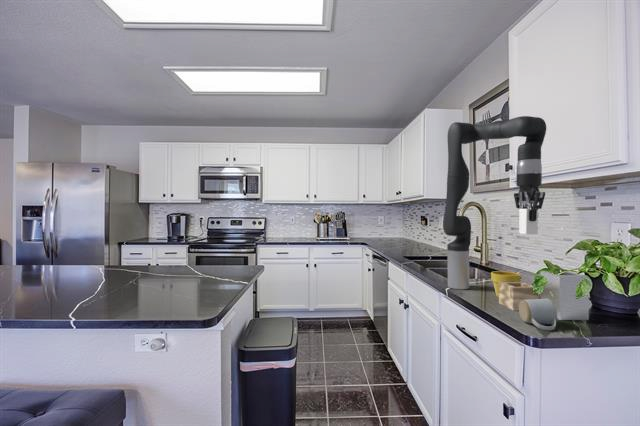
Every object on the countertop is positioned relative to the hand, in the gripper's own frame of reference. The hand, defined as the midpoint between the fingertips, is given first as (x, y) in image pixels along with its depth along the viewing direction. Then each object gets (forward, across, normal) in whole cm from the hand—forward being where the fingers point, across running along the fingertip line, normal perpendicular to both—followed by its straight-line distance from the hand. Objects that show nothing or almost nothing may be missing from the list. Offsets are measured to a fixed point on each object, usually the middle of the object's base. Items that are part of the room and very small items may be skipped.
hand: (528, 220), depth 112 cm
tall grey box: (+32, +9, +7) cm, 33 cm away
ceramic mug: (+32, +17, -7) cm, 36 cm away
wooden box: (+32, -2, -2) cm, 32 cm away
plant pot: (+32, -14, +1) cm, 36 cm away
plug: (+5, 0, 0) cm, 5 cm away
